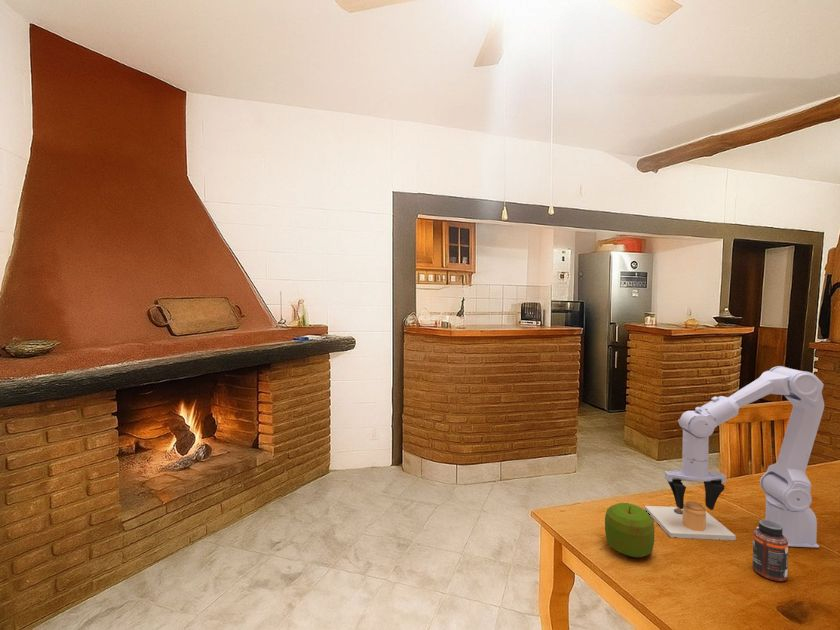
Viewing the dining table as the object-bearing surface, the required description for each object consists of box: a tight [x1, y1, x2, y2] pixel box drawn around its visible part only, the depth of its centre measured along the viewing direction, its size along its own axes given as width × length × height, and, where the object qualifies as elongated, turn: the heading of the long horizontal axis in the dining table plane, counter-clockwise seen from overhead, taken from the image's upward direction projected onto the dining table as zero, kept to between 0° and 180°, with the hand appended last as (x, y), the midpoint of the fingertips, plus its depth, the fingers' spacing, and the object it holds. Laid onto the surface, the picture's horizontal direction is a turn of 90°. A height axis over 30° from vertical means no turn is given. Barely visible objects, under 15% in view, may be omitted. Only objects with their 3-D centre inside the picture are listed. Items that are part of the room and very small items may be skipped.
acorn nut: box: [682, 500, 707, 531], centre depth 107 cm, size 5×5×6 cm
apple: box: [604, 502, 655, 559], centre depth 99 cm, size 11×11×11 cm
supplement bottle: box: [752, 519, 789, 582], centre depth 90 cm, size 6×6×11 cm
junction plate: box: [644, 505, 737, 541], centre depth 111 cm, size 16×14×4 cm
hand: (694, 507), depth 107 cm, fingers open, 7 cm apart
